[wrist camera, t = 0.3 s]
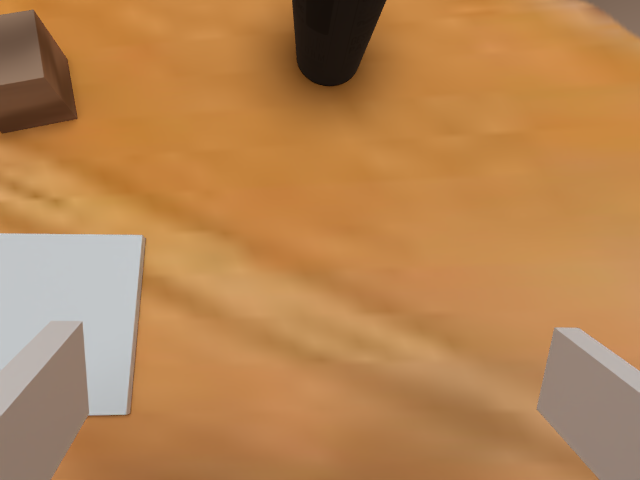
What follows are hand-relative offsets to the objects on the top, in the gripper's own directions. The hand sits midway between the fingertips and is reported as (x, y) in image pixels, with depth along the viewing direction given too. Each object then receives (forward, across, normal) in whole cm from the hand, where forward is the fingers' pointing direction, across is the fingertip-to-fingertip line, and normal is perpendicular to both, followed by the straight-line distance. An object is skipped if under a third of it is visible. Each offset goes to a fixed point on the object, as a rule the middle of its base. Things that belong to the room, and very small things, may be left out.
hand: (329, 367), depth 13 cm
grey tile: (+17, +15, +7) cm, 24 cm away
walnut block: (+26, +18, -7) cm, 32 cm away
